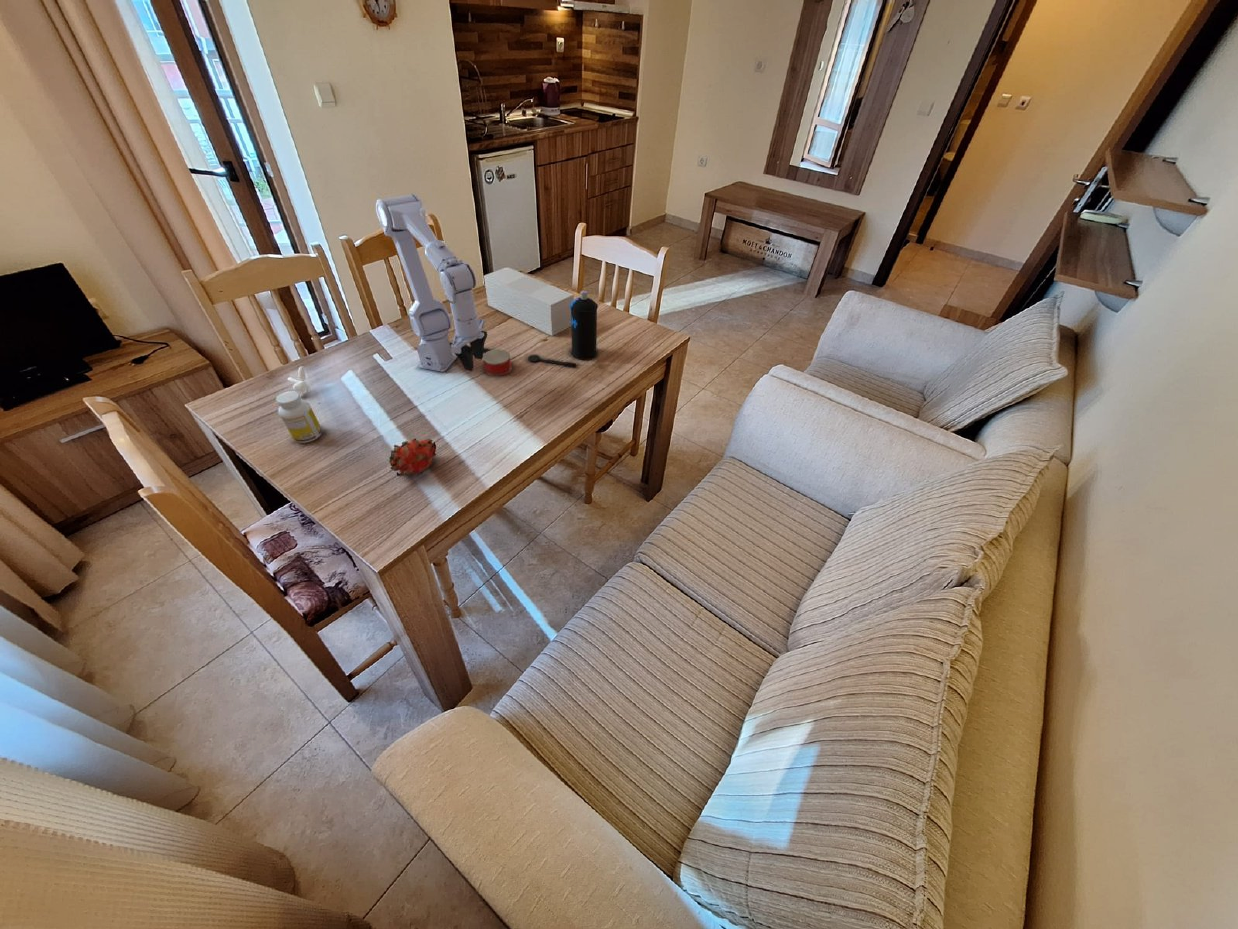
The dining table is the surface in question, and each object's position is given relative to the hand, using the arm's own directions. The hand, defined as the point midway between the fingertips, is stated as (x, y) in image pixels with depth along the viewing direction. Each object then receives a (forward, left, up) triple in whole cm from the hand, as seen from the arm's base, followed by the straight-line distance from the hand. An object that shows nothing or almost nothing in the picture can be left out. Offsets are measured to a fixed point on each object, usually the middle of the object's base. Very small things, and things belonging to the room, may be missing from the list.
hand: (473, 363), depth 126 cm
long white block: (+48, +3, -10) cm, 49 cm away
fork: (+21, +14, -9) cm, 27 cm away
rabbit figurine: (-12, +46, -10) cm, 48 cm away
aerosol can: (+29, -22, -10) cm, 38 cm away
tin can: (+13, 0, -9) cm, 16 cm away
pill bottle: (-28, +32, -10) cm, 44 cm away
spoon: (+21, -14, -9) cm, 27 cm away
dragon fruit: (-31, +1, -10) cm, 32 cm away
